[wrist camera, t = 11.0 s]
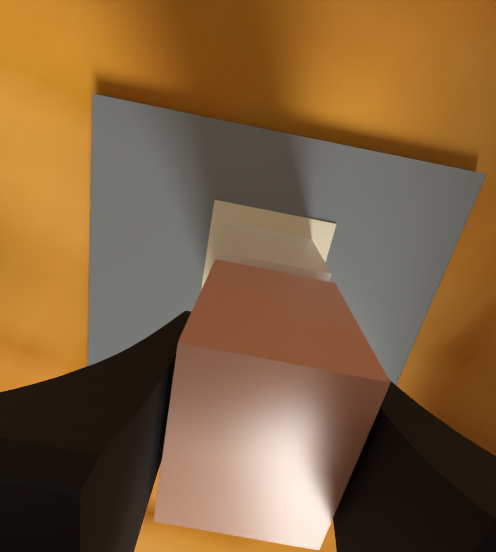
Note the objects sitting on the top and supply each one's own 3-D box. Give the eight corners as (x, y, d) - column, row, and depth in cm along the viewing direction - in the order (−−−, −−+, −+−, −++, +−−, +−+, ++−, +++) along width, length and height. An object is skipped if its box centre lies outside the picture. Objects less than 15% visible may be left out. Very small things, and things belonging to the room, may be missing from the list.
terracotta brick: (334, 282, 11) (390, 382, 6) (297, 402, 13) (318, 550, 8) (215, 259, 11) (178, 341, 6) (194, 382, 12) (153, 521, 8)
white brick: (311, 239, 16) (331, 273, 12) (288, 326, 18) (296, 387, 13) (232, 222, 16) (219, 251, 11) (216, 312, 18) (199, 369, 13)
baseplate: (475, 173, 16) (488, 174, 15) (351, 470, 23) (354, 483, 22) (100, 96, 15) (91, 93, 14) (92, 424, 22) (85, 435, 21)
